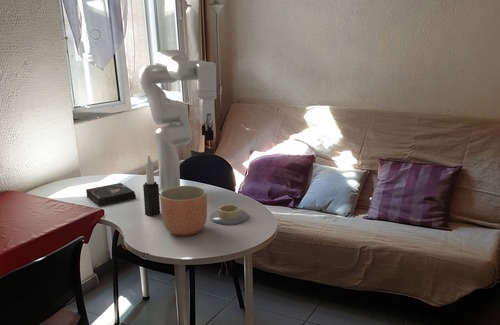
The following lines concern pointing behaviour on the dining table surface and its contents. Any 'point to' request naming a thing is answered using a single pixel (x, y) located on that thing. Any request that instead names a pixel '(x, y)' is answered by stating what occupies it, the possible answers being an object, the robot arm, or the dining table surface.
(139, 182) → the dining table surface
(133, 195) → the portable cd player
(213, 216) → the candle holder
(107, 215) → the dining table surface
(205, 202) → the planter
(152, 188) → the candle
